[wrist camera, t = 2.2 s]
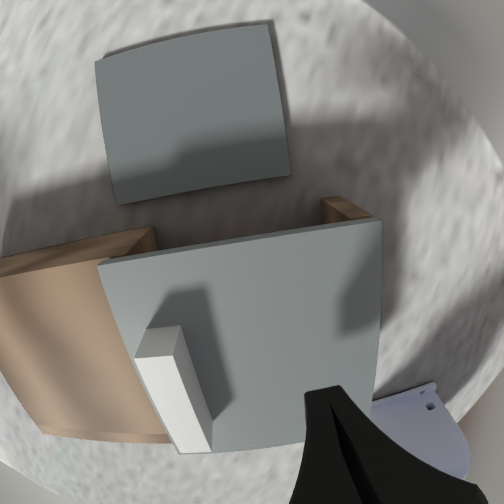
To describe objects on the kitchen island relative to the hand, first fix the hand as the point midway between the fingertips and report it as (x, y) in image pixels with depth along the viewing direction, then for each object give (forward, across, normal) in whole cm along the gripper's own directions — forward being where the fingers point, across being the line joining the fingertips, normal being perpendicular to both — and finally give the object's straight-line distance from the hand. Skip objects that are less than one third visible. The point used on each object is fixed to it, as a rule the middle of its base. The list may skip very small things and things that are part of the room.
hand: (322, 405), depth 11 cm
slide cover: (+3, +2, 0) cm, 4 cm away
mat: (+8, +4, -11) cm, 14 cm away
